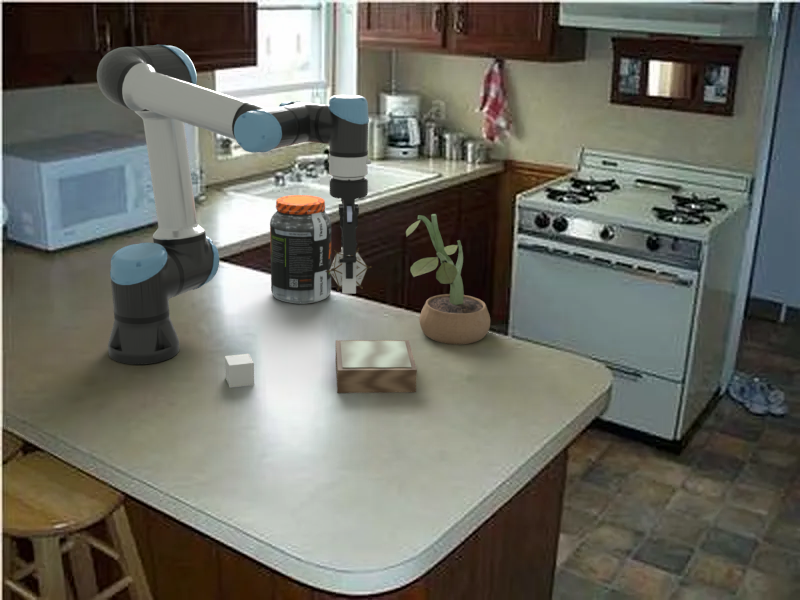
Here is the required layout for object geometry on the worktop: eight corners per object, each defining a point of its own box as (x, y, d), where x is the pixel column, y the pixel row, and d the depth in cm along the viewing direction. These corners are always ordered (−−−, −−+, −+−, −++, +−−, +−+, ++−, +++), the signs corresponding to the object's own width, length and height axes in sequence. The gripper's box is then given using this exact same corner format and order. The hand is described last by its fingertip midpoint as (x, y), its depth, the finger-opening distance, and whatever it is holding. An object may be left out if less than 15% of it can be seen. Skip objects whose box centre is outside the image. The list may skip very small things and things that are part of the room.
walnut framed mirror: (337, 392, 183) (337, 369, 181) (335, 361, 198) (335, 339, 196) (415, 392, 185) (416, 368, 183) (408, 361, 200) (408, 339, 198)
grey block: (229, 388, 184) (229, 365, 182) (225, 378, 188) (224, 356, 186) (254, 385, 185) (253, 362, 184) (249, 375, 190) (248, 353, 188)
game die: (354, 307, 184) (362, 279, 176) (316, 290, 185) (323, 260, 177) (371, 277, 189) (380, 248, 181) (335, 260, 190) (342, 230, 182)
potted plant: (462, 316, 228) (469, 199, 218) (503, 340, 213) (513, 216, 204) (383, 329, 218) (387, 207, 208) (421, 355, 203) (427, 226, 193)
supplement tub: (342, 299, 237) (343, 203, 228) (288, 309, 228) (287, 209, 220) (312, 283, 249) (312, 190, 240) (260, 291, 240) (259, 196, 232)
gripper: (370, 187, 167) (369, 302, 174) (365, 166, 188) (364, 269, 195) (329, 187, 166) (330, 302, 174) (329, 165, 187) (329, 269, 194)
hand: (348, 285), depth 184 cm, fingers closed on game die, 9 cm apart
